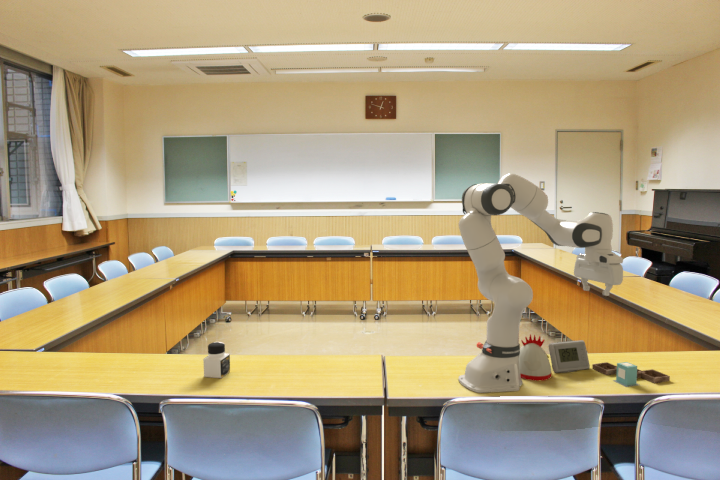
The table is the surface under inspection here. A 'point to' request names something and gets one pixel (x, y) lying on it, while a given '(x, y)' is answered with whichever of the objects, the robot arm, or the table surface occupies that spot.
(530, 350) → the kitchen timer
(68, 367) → the table surface
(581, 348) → the digital clock
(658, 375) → the box
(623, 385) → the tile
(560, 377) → the table surface
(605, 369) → the box
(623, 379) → the teal rectangular block
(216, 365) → the medicine bottle
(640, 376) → the box
